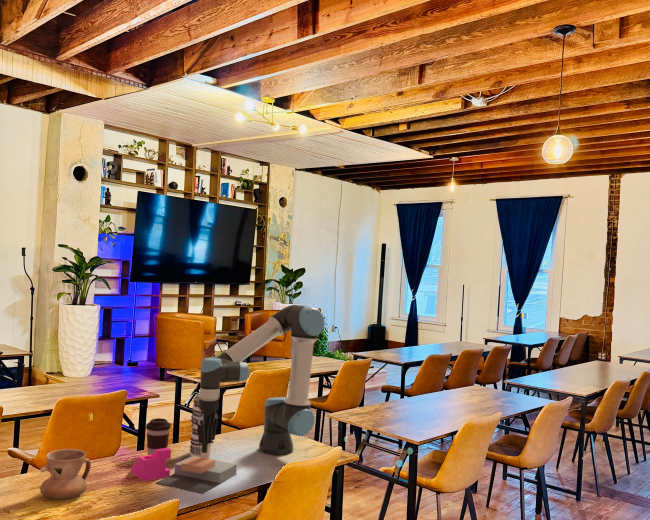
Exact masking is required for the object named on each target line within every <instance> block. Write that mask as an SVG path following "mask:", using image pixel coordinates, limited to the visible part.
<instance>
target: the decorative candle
mask: <svg viewBox="0 0 650 520" xmlns="http://www.w3.org/2000/svg"><path fill="white" fill-rule="evenodd" d="M200 399H201V398H200V393H198V394H196V395H195V397H193V406H192V407H191V412H190V413H191V414H192V415H191V416H190V421H191V429H192V431H191V436H190V442H189V443H190V445H189V448H190V449H189V455H190V457H191V456H197V457H202V444H201V443H199V439H198V427H197V423H196V420H199V419H200V418H201V417H200V415H201V410H200V409H199V400H200Z"/></svg>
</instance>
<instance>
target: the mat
mask: <svg viewBox="0 0 650 520" xmlns="http://www.w3.org/2000/svg"><path fill="white" fill-rule="evenodd" d="M226 481H228V480H227V479H226V480H224V481H223V482H221V483H217V482H212V481H207V480H202V479H198V478H193V477H188V476H183V475H179V474H174V473H173V474H171V475H170V476H168V477H164V478H161V480H159V481H156V483H155V484H157V485H161V486H165V487H171V488H174V487H175V488H174V489H178V488H180V489H179V490H183V489H184V491H187V490H188V492H192V491H193V492H192V493H196V492H197V493H196V494H201V493H202V494H201V495H203V494H205V493H207V492H208V490H209V491H211V490H212V489H214V488H216V487H218V486H219V485H221V484H222V483H224V482H226Z"/></svg>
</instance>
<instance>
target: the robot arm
mask: <svg viewBox="0 0 650 520" xmlns="http://www.w3.org/2000/svg"><path fill="white" fill-rule="evenodd" d="M324 328H325V316H324V314H323V313H322V312H321V310H319V308H316V307H313V306H308V305H307V306H306V305H298V304H291V305H288V306H285V307H283V308H282V309H280V310H279V311H277V312H275V313H274V314H272V315H271V316H270V317H268V319H267V322H265V323H264V324H262V325H261V326H259V327H258V328H257V329H255V330H254V331H252V332H250V333H249V334H247V336H245V337H243V338H242V339H241V340H239V341H238V342H236V343H235V344H234V345H231V347H229V348H228V349H227V350H225V351H223V352H222V353H221V354H219V355H218V356H217V355H216V356H215V355H213V356H211V357H205V358H203V359H202V361H201V365H200V366H201V367H200V381H199V382H200V383H199V384H200V386H199V387H200V388H199V394H200V398H201V399H200V400H199V409H200V410H201V415H200V417H201V418H200V419H199V420H196V423H197V427H198V439H199V443H201V444H202V458H206V459H211V448H212V447H211V446H212V444H214V440H216V439H215V438H216V435H217V434H216V433H217V429H218V428H217V427H218V422H219V419H220V413H218V414H217V411H218V410H219V409H220V408H219V405H220V395H221V393H220V389H221V384H223V383H235V382H237V383H239V382H245V381H246V380H247V379H248V378H249V375H250V367H249V365H248V363H247V362H245V360H246V359H248V357H250V356H252V355H253V354H254V353H255V352H257V351H258V350H260V349H261V348H262V347H264V346H265V345H267V344H268V343H270V341H272V340H274V339H275V338H276V337H278V336H283V335H284V334H287V333H288V332H290V338H291V339H292V341H293V345H292V355H291V364H290V365H291V366H290V376H289V384H288V392H287V394H288V395H287V396H286V397H285V396H280V397H279V396H278V397H270V398H267V399H266V400H265V401H264V402H265V404H264V420H263V421H264V422H263V433H262V437H261V439H260V441H259V444H258V451H259V452H261V453H263V454H266V455H270V456H272V455H273V456H283V455H288V454H291V453H293V452H294V443H293V439H292V436H297V437H303V436H306V435H307V434H309V432H311V431H312V430H313V428H314V425H315V422H316V418H315V414H314V412H313V411H312V410H311V407H312V402H311V401H310V399H309V394H310V393H309V392H310V382H311V373H312V364H313V363H312V362H313V353H314V344H315V342H317V341H318V339H319V335H320V334H321V333H322V332H323V331H324ZM291 435H292V436H291Z"/></svg>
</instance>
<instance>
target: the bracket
mask: <svg viewBox="0 0 650 520" xmlns="http://www.w3.org/2000/svg"><path fill="white" fill-rule="evenodd" d="M171 455H172V449H171V448H170V447H167V448H163V449H156V450H155V451H154V452H153V454H152V455H148V454H147V455H141V456H138V457H137V458H136V461H135V463H134V464H133V466H132V467H131V469H130V473H131V474H133V475H134V476H135V475H136V477H137V478H138V479H139V478H140V480H141V482H147V481H152V480H153V481H154V480H157V479H158V478H159V479H164V478H166V477H167V476H171V475H170V474H171V469H169V468H168V467H167V460H170V459H171ZM163 477H164V478H163Z"/></svg>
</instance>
